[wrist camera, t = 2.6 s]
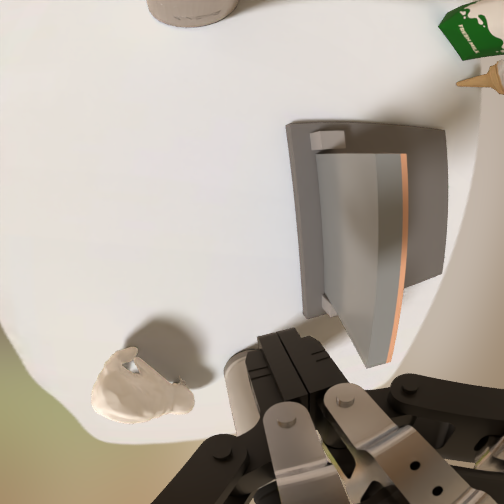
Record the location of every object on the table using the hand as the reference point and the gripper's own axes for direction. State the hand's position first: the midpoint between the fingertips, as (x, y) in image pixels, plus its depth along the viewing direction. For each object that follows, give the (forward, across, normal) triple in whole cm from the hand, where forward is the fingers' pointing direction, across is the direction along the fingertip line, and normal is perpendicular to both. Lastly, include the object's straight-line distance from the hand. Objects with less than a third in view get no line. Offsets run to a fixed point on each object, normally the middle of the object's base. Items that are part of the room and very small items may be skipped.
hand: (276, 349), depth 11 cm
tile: (+14, -11, 0) cm, 18 cm away
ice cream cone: (+16, -36, -18) cm, 44 cm away
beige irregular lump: (+17, +12, +14) cm, 25 cm away
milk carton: (+16, -40, -28) cm, 52 cm away
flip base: (+16, -18, 0) cm, 24 cm away
